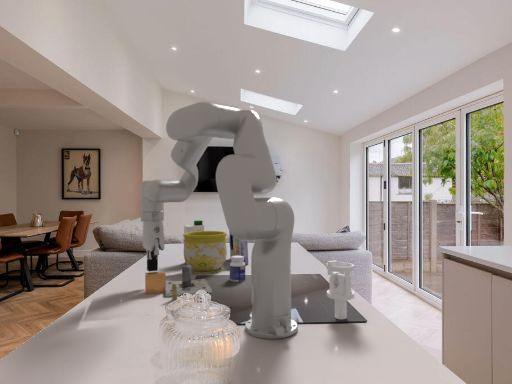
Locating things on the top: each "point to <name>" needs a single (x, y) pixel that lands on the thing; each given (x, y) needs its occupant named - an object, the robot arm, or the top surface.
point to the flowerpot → (205, 251)
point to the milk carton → (194, 227)
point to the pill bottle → (237, 269)
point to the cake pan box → (238, 248)
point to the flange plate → (158, 284)
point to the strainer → (340, 286)
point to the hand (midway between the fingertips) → (152, 270)
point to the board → (183, 280)
